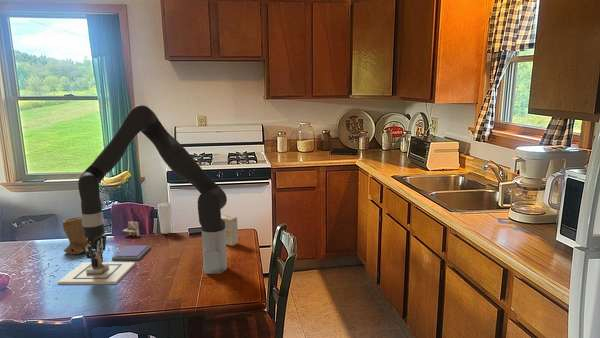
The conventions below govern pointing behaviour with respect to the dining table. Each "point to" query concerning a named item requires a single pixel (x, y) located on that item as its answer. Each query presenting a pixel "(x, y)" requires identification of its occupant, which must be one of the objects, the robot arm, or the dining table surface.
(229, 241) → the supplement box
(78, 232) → the brown bookend
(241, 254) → the dining table surface
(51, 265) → the dining table surface
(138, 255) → the pad
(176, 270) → the dining table surface
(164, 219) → the tall white block
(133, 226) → the architectural model
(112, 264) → the marking board
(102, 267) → the stamp
